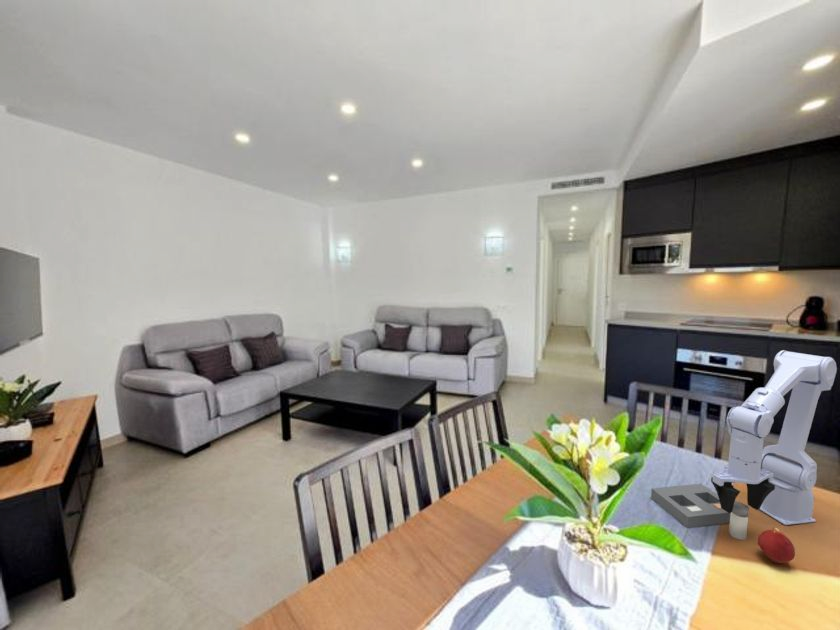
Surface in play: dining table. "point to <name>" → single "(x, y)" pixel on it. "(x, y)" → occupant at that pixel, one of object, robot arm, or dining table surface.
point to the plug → (739, 521)
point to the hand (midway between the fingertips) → (739, 508)
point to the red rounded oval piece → (776, 546)
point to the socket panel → (691, 504)
